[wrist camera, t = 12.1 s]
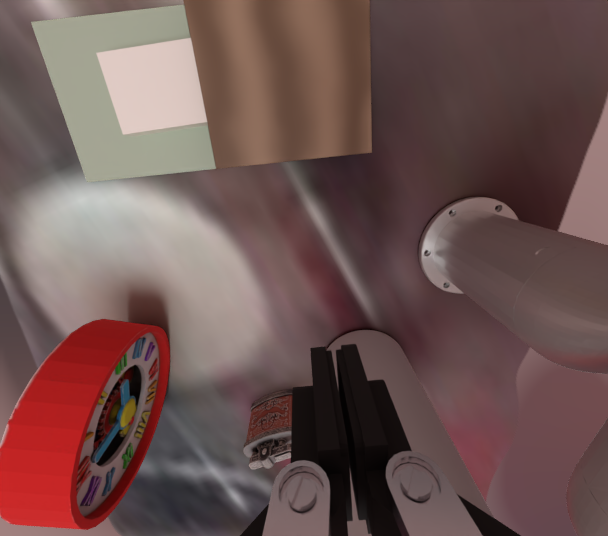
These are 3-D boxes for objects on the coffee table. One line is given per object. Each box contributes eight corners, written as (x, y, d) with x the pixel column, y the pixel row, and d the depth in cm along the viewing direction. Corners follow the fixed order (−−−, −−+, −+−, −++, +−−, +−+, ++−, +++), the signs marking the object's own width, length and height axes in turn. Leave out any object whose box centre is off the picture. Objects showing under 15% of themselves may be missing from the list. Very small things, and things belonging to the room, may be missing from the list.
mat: (185, 6, 28) (183, 4, 28) (216, 168, 34) (216, 168, 33) (34, 23, 28) (30, 22, 28) (89, 181, 34) (87, 182, 33)
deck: (359, -14, 28) (369, -40, 24) (363, 153, 33) (371, 152, 30) (195, 5, 28) (179, -18, 24) (225, 167, 34) (216, 168, 30)
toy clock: (170, 408, 46) (83, 579, 27) (132, 404, 46) (17, 575, 27) (170, 297, 39) (54, 423, 21) (125, 290, 39) (-35, 414, 20)
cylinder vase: (338, 405, 47) (380, 653, 23) (307, 346, 42) (318, 576, 19) (413, 378, 45) (538, 616, 22) (387, 314, 41) (508, 523, 18)
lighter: (257, 417, 47) (247, 481, 38) (247, 402, 46) (234, 465, 37) (302, 400, 46) (303, 462, 37) (293, 385, 45) (292, 445, 36)
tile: (199, 47, 29) (190, 37, 27) (216, 124, 32) (209, 121, 29) (112, 61, 29) (96, 52, 27) (135, 136, 32) (122, 134, 29)
